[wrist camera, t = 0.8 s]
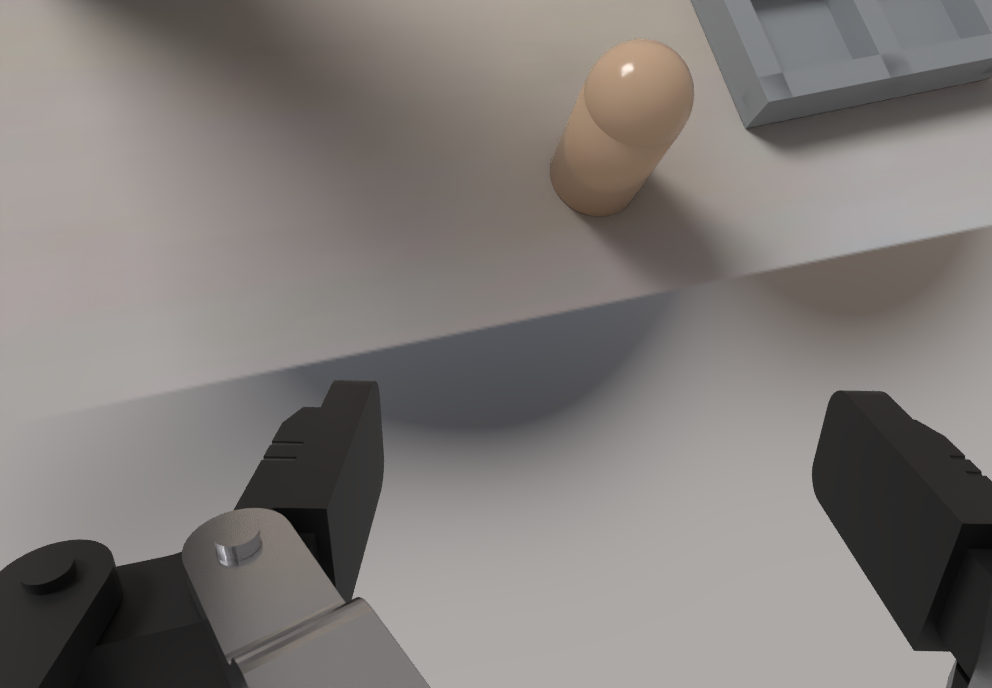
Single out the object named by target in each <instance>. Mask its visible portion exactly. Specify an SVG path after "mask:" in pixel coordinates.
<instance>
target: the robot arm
mask: <svg viewBox="0 0 992 688" xmlns="http://www.w3.org/2000/svg"><path fill="white" fill-rule="evenodd" d="M381 424H382V423H381V409H380V395H379V387H378V384H377V382H376V381H346V380H345V381H344V380H335V381H334V382H333V383H332V385H331V387H330V389H329V391H328V393H327V395H326V398H325V399H324V402H323V404H322V406H321V407H317V408H315V407H303V408H301V409H300V410H299V411H297V412H296V413H295V414H293V415H292V416H291V417H289V418H288V419H287V420H286V421H284V422H283V423H282V425H281V426H280V428H279V430H278V432H277V433H276V435H275V437H274V439H273V441H272V445H270V446H269V448H268V450H267V451H266V453H265V455H264V460H261V462H260V464H259V466H258V467H257V469H256V471H255V473H254V475H253V476H252V478H251V480H250V482H249V484H248V485H247V487H246V489H245V491H244V493H243V494H242V496H241V498H240V500H239V501H238V503H237V505H236V507H235V509H234V510H233V511H230V512H227V513H224V514H221V515H219V516H217V517H214V518H212V519H210V520H209V521H207V522H205V523H204V524H202V525H201V526H199V527H198V528H197V529H196V530H195V531H194V532H193V533H192V534H191V535H190V536H189V538H188V539H187V540H186V542H185V544H184V546H183V550H182V552H180V553H177V554H174V555H170V556H166V557H161V558H156V559H151V560H147V561H142V562H137V563H132V564H127V565H122V566H117V567H116V565H115V562H114V559H113V555H112V553H111V551H110V550H109V549H108V547H106V546H105V545H103V544H101V543H99V542H96V541H91V540H68V541H62V542H57V543H54V544H50V545H47V546H44V547H41V548H38V549H36V550H34V551H31V552H29V553H27V554H25V555H23V556H22V557H20V558H18V559H16V560H15V561H13V562H12V563H10V564H9V565H7V566H6V567H5V568H4V569H3V570H1V571H0V688H430V686H429V685H428V684H427V682H426V681H425V679H424V678H423V677H422V675H421V674H420V673H419V671H418V670H417V668H416V667H415V666H414V664H413V663H412V662H411V660H410V659H409V657H408V656H407V655H406V653H405V652H404V651H403V649H402V648H401V647H400V645H399V644H398V642H397V641H396V640H395V638H394V637H393V636H392V634H391V633H390V632H389V630H388V629H387V627H386V626H385V625H384V623H383V622H382V621H381V619H380V618H379V617H378V615H377V614H376V613H375V611H374V610H373V609H372V607H371V606H370V605H369V604H368V603H367V602H366V601H365V600H364V599H363V598H360V597H357V598H355V599H353V600H352V596H353V592H354V588H355V585H356V581H357V578H358V574H359V570H360V566H361V563H362V559H363V555H364V551H365V548H366V544H367V540H368V537H369V533H370V529H371V525H372V522H373V518H374V514H375V511H376V507H377V503H378V499H379V496H380V492H381V488H382V481H383V472H384V453H383V437H382V425H381ZM812 482H813V488H814V492H815V495H816V497H817V499H818V501H819V503H820V504H821V506H822V507H823V509H824V511H825V512H826V514H827V515H828V517H829V518H830V520H831V522H832V523H833V525H834V526H835V528H836V529H837V531H838V533H839V534H840V536H841V537H842V539H843V540H844V542H845V544H846V545H847V547H848V548H849V550H850V551H851V553H852V554H853V556H854V558H855V559H856V561H857V562H858V564H859V565H860V567H861V569H862V570H863V572H864V573H865V575H866V576H867V578H868V580H869V581H870V582H871V584H872V586H873V587H874V589H875V590H876V592H877V594H878V595H879V597H880V598H881V600H882V601H883V603H884V604H885V606H886V608H887V609H888V611H889V612H890V614H891V615H892V617H893V619H894V620H895V622H896V623H897V625H898V626H899V628H900V630H901V631H902V633H903V634H904V636H905V637H906V639H907V641H908V642H909V644H910V645H911V647H912V648H913V650H914V651H950V652H951V653H952V654H953V656H954V657H955V658H956V661H955V663H954V665H953V667H952V670H951V672H950V675H949V677H948V681H947V686H946V688H992V481H991V480H990V479H989V478H988V477H987V476H982V474H981V471H980V470H979V469H978V468H977V467H976V466H975V465H974V464H973V463H972V462H971V461H970V460H965V455H964V454H963V453H962V452H961V451H960V450H959V449H958V448H957V447H955V446H954V445H953V444H952V443H951V442H950V441H949V440H948V439H947V438H946V437H945V436H943V435H942V434H940V433H938V432H936V431H935V430H933V429H931V428H929V427H928V426H926V425H924V424H922V423H921V422H919V421H917V420H913V419H912V418H911V417H910V416H909V415H908V414H907V413H906V412H905V411H904V410H903V409H902V408H901V407H900V406H899V405H898V404H897V403H896V402H895V401H894V400H893V399H892V398H891V397H890V396H889V395H888V394H887V393H885V392H882V391H836V392H835V393H834V394H833V395H832V396H831V398H830V401H829V403H828V407H827V411H826V415H825V419H824V422H823V426H822V430H821V434H820V439H819V442H818V446H817V451H816V454H815V458H814V462H813V468H812Z"/></svg>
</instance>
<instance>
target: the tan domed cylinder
mask: <svg viewBox="0 0 992 688" xmlns="http://www.w3.org/2000/svg"><path fill="white" fill-rule="evenodd" d="M693 101H694V85H693V80H692V76H691V73H690V71H689V68H688V66H687V65H686V63H685V61H684V60H683V59H682V58H681V56H680V55H679V54H678V53H677V52H676V51H674V50H673V49H672V48H670V47H669V46H667V45H665V44H663V43H661V42H658V41H654V40H648V39H634V40H630V41H625V42H623V43H620V44H618V45H616V46H614V47H612V48H611V49H609V50H608V51H607V52H605V53H604V54H603V55H602V56H601V57H600V58H599V59H598V60H597V61H596V63H595V64H594V65H593V67H592V68H591V70H590V72H589V74H588V76H587V78H586V80H585V83H584V85H583V87H582V90H581V92H580V94H579V97H578V99H577V101H576V104H575V106H574V108H573V111H572V113H571V115H570V118H569V120H568V123H567V125H566V127H565V130H564V132H563V134H562V137H561V139H560V141H559V144H558V146H557V148H556V151H555V153H554V155H553V158H552V161H551V165H550V177H551V181H552V185H553V187H554V189H555V191H556V193H557V194H558V196H559V197H560V198H561V199H562V200H563V201H564V203H566V204H567V205H568V206H569V207H571V208H572V209H574V210H576V211H578V212H580V213H583V214H585V215H590V216H608V215H612V214H615V213H617V212H619V211H621V210H622V209H624V208H625V207H626V206H627V205H628V204H629V203H630V202H631V200H632V199H633V198H634V196H635V195H636V194H637V192H638V191H639V189H640V188H641V187H642V185H643V184H644V182H645V181H646V180H647V178H648V177H649V175H650V174H651V173H652V171H653V170H654V169H655V167H656V166H657V164H658V163H659V162H660V160H661V159H662V157H663V156H664V155H665V153H666V152H667V150H668V149H669V148H670V146H671V145H672V143H673V142H674V141H675V139H676V138H677V137H678V135H679V134H680V132H681V131H682V129H683V128H684V126H685V125H686V123H687V121H688V119H689V116H690V114H691V111H692V107H693Z"/></svg>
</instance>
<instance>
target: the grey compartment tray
mask: <svg viewBox="0 0 992 688" xmlns="http://www.w3.org/2000/svg"><path fill="white" fill-rule="evenodd" d="M691 2H692V4H693V6H694V9H695V11H696V13H697V16H698V18H699V20H700V23H701V25H702V27H703V30H704V32H705V35H706V37H707V39H708V42H709V44H710V46H711V49H712V51H713V53H714V56H715V58H716V60H717V63H718V65H719V68H720V70H721V72H722V75H723V77H724V79H725V82H726V84H727V86H728V89H729V91H730V93H731V96H732V98H733V101H734V103H735V105H736V108H737V110H738V112H739V115H740V117H741V119H742V122H743V124H744V126H745V129H746V128H750V127H755V126H760V125H765V124H770V123H775V122H780V121H785V120H789V119H794V118H799V117H804V116H809V115H814V114H819V113H824V112H828V111H833V110H838V109H843V108H848V107H853V106H858V105H863V104H867V103H872V102H877V101H882V100H887V99H892V98H897V97H902V96H906V95H911V94H916V93H921V92H926V91H931V90H936V89H941V88H945V87H950V86H955V85H960V84H965V83H970V82H975V81H980V80H985V79H989V78H990V77H992V0H691Z"/></svg>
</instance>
